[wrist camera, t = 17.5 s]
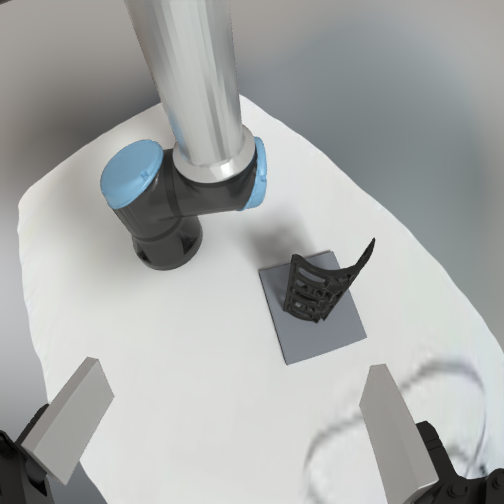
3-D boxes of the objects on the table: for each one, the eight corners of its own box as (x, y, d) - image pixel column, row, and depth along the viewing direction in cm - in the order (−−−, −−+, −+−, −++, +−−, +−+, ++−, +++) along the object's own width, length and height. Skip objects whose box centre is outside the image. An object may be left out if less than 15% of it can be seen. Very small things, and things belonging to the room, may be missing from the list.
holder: (329, 273, 51) (356, 210, 33) (349, 307, 48) (391, 257, 30) (276, 299, 49) (280, 243, 32) (296, 336, 46) (314, 300, 28)
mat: (259, 273, 53) (259, 271, 52) (332, 253, 54) (333, 251, 53) (286, 365, 45) (287, 364, 44) (365, 338, 46) (366, 337, 45)
